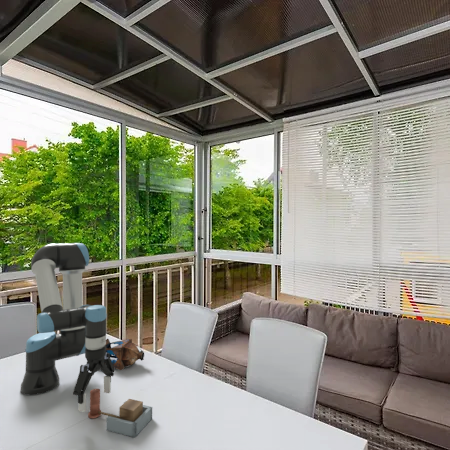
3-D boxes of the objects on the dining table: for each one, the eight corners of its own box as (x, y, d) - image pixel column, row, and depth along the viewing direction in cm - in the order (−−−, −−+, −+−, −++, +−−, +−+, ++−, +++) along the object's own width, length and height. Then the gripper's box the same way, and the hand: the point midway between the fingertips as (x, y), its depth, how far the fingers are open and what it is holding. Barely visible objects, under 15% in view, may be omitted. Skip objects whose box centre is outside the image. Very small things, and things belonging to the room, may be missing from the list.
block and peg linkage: (84, 417, 120) (84, 393, 120) (95, 408, 125) (95, 386, 125) (133, 430, 113) (133, 405, 113) (142, 420, 119) (142, 396, 119)
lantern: (99, 375, 166) (143, 377, 162) (86, 361, 155) (133, 363, 151) (111, 346, 178) (152, 347, 174) (99, 331, 168) (143, 332, 163)
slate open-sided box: (106, 430, 113) (106, 417, 113) (125, 412, 124) (125, 400, 124) (134, 437, 110) (134, 425, 110) (152, 418, 120) (152, 407, 120)
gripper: (79, 360, 109) (78, 422, 109) (123, 336, 132) (123, 387, 132) (62, 357, 111) (61, 417, 111) (109, 334, 135) (108, 384, 135)
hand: (95, 401), depth 122 cm, fingers open, 13 cm apart
